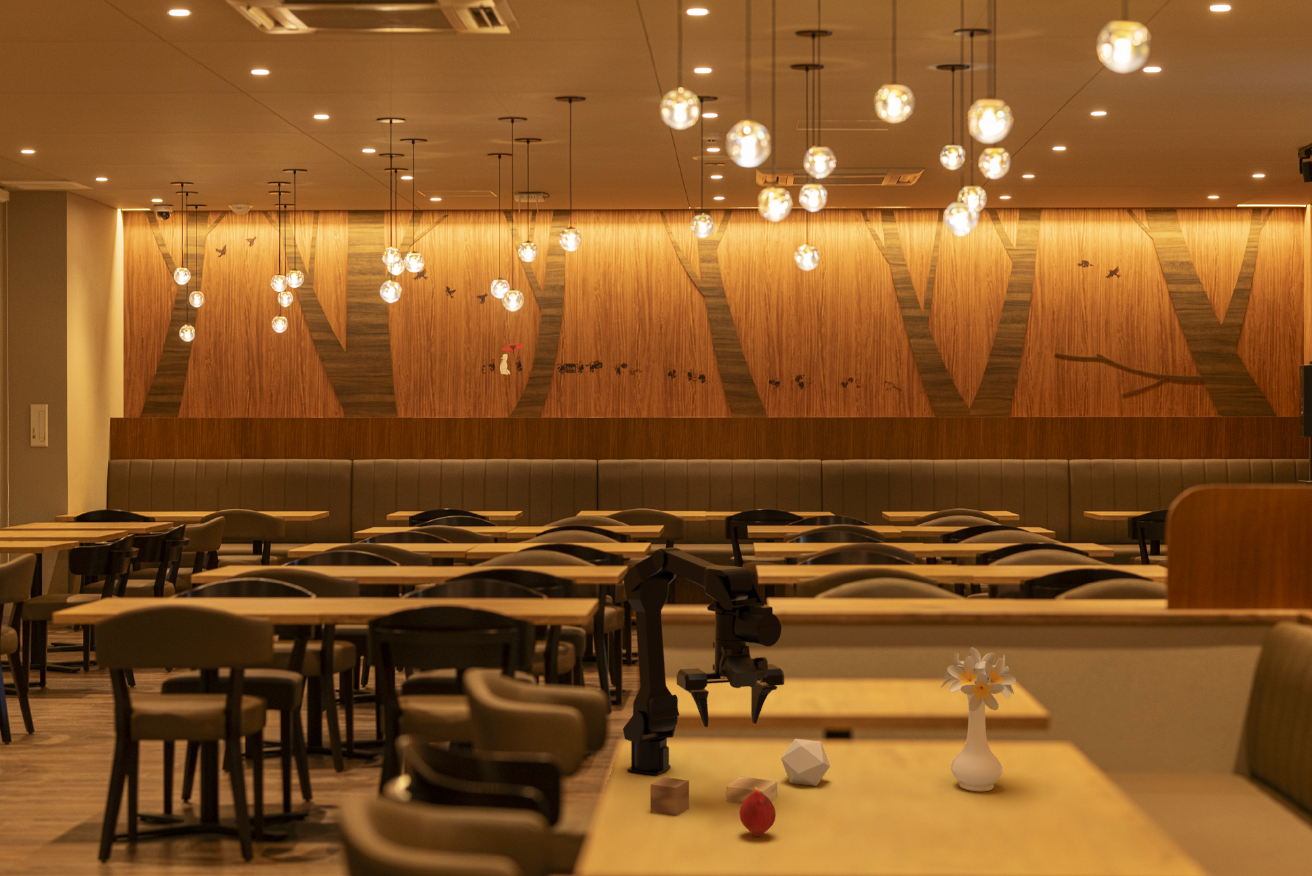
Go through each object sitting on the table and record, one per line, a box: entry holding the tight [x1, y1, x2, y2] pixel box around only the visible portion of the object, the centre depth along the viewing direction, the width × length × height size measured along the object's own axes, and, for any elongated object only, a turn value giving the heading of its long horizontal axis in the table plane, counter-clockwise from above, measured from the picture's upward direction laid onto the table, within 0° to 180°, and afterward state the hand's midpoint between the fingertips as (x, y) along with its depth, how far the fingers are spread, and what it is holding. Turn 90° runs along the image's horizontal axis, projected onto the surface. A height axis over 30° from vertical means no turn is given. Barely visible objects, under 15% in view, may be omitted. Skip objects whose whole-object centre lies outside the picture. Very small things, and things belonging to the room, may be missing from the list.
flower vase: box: [940, 646, 1017, 793], centre depth 238 cm, size 13×18×25 cm
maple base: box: [725, 776, 778, 804], centre depth 232 cm, size 7×7×3 cm
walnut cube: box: [650, 776, 690, 817], centre depth 225 cm, size 5×5×5 cm
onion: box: [739, 787, 777, 838], centre depth 211 cm, size 6×6×8 cm
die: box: [780, 738, 831, 787], centre depth 242 cm, size 8×9×10 cm
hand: (730, 725), depth 231 cm, fingers open, 9 cm apart
